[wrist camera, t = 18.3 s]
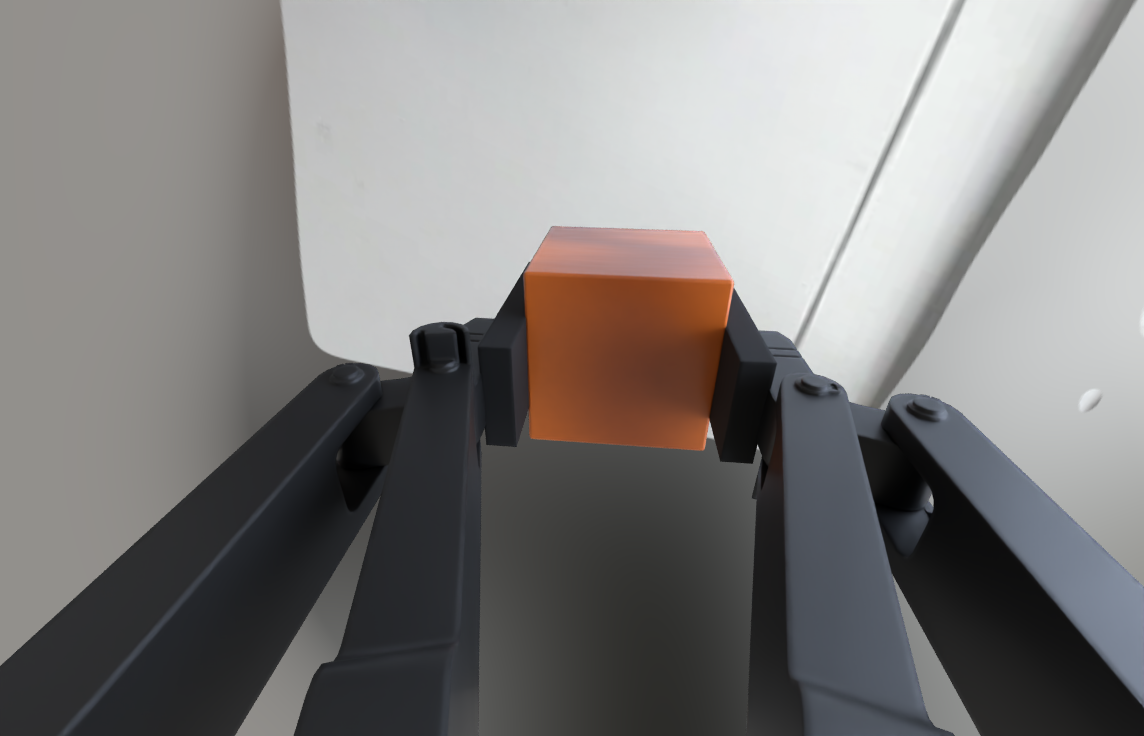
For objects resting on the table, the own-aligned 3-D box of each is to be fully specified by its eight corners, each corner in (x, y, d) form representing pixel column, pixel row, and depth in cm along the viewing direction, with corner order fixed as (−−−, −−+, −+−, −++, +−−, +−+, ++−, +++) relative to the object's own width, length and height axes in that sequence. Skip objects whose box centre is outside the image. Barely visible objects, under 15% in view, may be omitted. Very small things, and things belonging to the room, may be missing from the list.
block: (551, 359, 18) (529, 439, 14) (550, 225, 16) (522, 272, 12) (685, 367, 18) (705, 451, 14) (705, 230, 16) (735, 280, 11)
